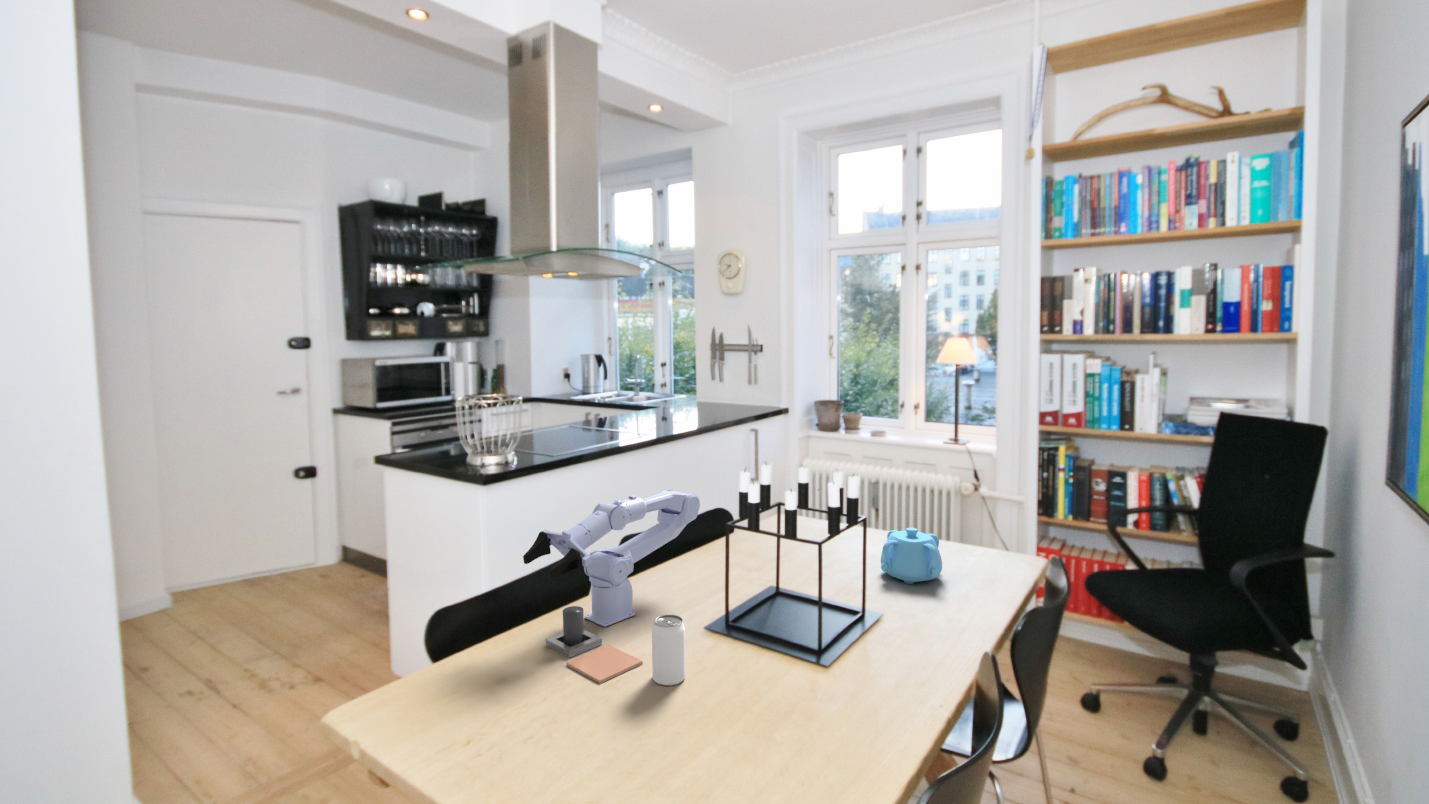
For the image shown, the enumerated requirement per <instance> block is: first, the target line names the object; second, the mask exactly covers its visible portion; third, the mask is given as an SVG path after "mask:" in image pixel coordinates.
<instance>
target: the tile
mask: <svg viewBox="0 0 1429 804" xmlns="http://www.w3.org/2000/svg"><path fill="white" fill-rule="evenodd" d="M641 665H643V660H642V659H639V658H637V657H635V656H633V655H631V654H629V653H627V652H625V651H623V650H620V649H619V648H616V647H614V646H612V645H610V644H607V645H606V646H603V647H600V648H598V649H595V650H593V651H591V652H589V653H587V654H584V655H582V656H579V657H576V658H574V659H572V660H569V661H567V662H566V666H567V667H569V668H570V669H572V670H575V671H577V672H578V673H580V674H582V675H584V676H585V677H587V678H589V679H591V680H593V681H594V682H596V683H598V684H602V683H604V682H607V681H609V680H611V679H613V678H615V677H617V676H619V675H621V674H624V673H626V672H628V671H630V670H633V669H634V668H637V667H639V666H641Z"/></svg>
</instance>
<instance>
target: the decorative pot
mask: <svg viewBox="0 0 1429 804" xmlns="http://www.w3.org/2000/svg"><path fill="white" fill-rule="evenodd" d="M939 544H940V539H939V536H938V535H936V534H935V533H924V532H921V531H919V529H918V528H916V527H907V528H905V530H897V529H892V530H890V531H888V533H887V535H886V542H885V543H884V544H883V546H882V551H881V556H880V565H881V566H880V568H881V570H882V572H884V573H887V574H888V575H889V576H891V577H893V578H895V579H898V580H902V581H903V583H905V584H909V585H913V584H914V583H919V582H925V581H932V580H935V579H937V577H939V575H940V574H941V573H942V570H943V561H942V560H943V559H942V556H941V552H940V550H939Z"/></svg>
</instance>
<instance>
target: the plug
mask: <svg viewBox="0 0 1429 804" xmlns="http://www.w3.org/2000/svg"><path fill="white" fill-rule="evenodd" d="M584 616H585V615H584V608H583V607H582V606H577V605H572V606H567V607H565V608H564V609H562V631H563V632H562V633H563V637H564V644H566V645H568V646H570V647H572V646H574V645H577V644H579V643H582V642H584V630H585V623H584V620H585V617H584Z"/></svg>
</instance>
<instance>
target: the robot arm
mask: <svg viewBox="0 0 1429 804" xmlns="http://www.w3.org/2000/svg"><path fill="white" fill-rule="evenodd" d="M700 502H701V501H700V497H699V496H698V495H697V494H695V493H686V492H681V491H675V490H673V489H666V490H661V491H660V492H657V493H656V494H653V495H650V496H648V497H646V498H641V497H639V496H637V495H628V498H626V499H622V500H619V499H615V500H614V502H613V503H608V502H603V503H597V504H596V505H595V507H594V508H593V511H592V513H590V514H589V515H588V516H587V517H586V518H584V519H582V520H581V521H580V522H578V523H576V525H574V526H572V527H571V528H570V529H568V530H565V529H564V530H562V532H556V531H550V530H547V529H544V530H542V531H540V532H539V533H538V534H537V537H536V539H535V541H534V542H533V544H532V545H531V547H530V548H529V549H528V550H527V551H526V552H525V553H524V555H523V556H522V558H523V563H524V565H528V564H530V563H531V562H533V561H535V560H537V559H538V558H541V557H543V556H546V555H551V553H552V552H551V546H553V547H554V548H555V549H556V550H557V551H558V552H559V553H560V554H561V555H563V557H562V558H561V559H560V560H559V561H558V562H557V563H555V564H554V565H552V566H551V567H550V568H549V569H548V570H547V578H548V579H549V580H552V579H555V578H558V577H561V576H564V575H568V574H574V573H575V574H578V573H579V572H581V570H582V568H581V567H583V571H584V574H585V575H586V576H588V580H589V582H590V584H591V586H590V587H591V589H590V590H591V591H590V592H591V613H588V614H585V615H583V616H584V619H587V620H588V621H590V622H592V623H594V624H597V625H600V626H602V627H604V628H606V627H609V626H611V625H614V624H616V623H619V622H621V621H623V620H626V619H628V618H631V617H633V616H635V615H636V613H635V612H634V601H633V600H634V596H633V595H634V594H633V593H634V591H633V586H632V583H631V581H630V580H629V579H628V578H627V577H629V575H631V574H632V573H633V572H634V564H635V563H637V562H639V561H641V560H642V559H643V558H645V557H647V556H648V555H650V554H652V553H653V552H654V551H657V549H660V548H661V547H663V546H664V545H665V544H667V543H669V542H670V541H673V540H674V539H676V538H677V537H678V536H679V535H680V534H681V532H682V531H683V530H684V529H685V527H686V526H687V525H688V524H690V523H691V522H692V521H695V520H696V519H697V518H698V513H699V510H700V507H701V506H700V505H701V503H700ZM655 511H657V522H658V523H656V524H654V525H653V526H651V527H650V528H647V529H646V530H644V531H643V532H641V533H640V534H637V535H635V536H634V537H632V538H630V539H629V540H627V541H625V542H624V543H622V544H620V545H618V546H615V547H614V546H612V547H607V548H606V547H605V548H603V549H601V550H593V551H590V552H589V553H588V552H587V551H586V549H588V548H589V547H590V546H593V544H594V543H596V542H598V541H599V540H600V539H601V538H603V537H605V535H607V534H608V533H610V532H611V531H613V530H614V531H622V530H623V529H625V527H626V526H627V524H630V523H635V522H637V521H641V520H642V519H644V518H645V516H646V514H647V513H650V512H655Z"/></svg>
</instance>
